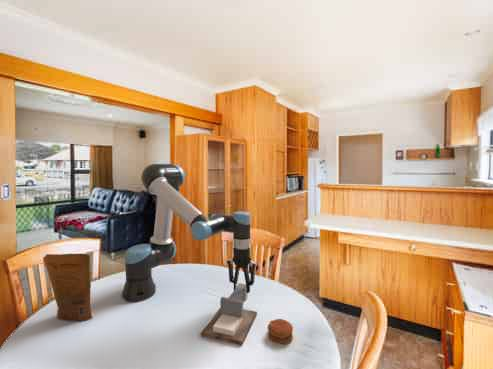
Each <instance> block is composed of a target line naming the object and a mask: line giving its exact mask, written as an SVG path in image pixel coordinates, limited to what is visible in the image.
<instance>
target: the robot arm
mask: <svg viewBox="0 0 493 369" xmlns="http://www.w3.org/2000/svg"><path fill="white" fill-rule="evenodd" d="M140 178H141V183H142V185H143V188H145V189H146V191H147V192H148V193H150V195H155V196H156V197H157V201H156V210H155V218H154V220H155V221H154V230H153V236H151V237H150V239H149V244H148V243H140V244H135V245H133V246H130V247H129V248H128V249H127V250H126V251H125V254H124V263H125V265H124V266H125V282H124V286H123V290H122V292H121V294H122V300H124V301H126V302H132V303H133V302H140V301H142V302H143V301H144V300H147V299H149V298H151V297H153V296H154V295H155V294H156V291H157V290H156V288H157V287H156V284H155V282H154V279H153V276H152V274H153V273H152V272H153V271H152V269H154V268H157V267H159V266H161V265H163V264H166V263H169V261H171V260H172V259H173V258H175V256H176V254H177V246H176V242H175V241H174V239H173V237H172V236H171V234H172V226H173V216H174V214H175V215H176V216H178V218H180V220H182V221H183V222H184V223H185V224H186V225H187V226H188V228H189V229H190V234H191V236H192V238H193V239H194V240H196V241H199V242H200V241H204V240H207V239H209V238H211V237H214V236H216V235H219V234H221V233H230V234H232V235H233V236H232V237H233V238H232V240H233V242H232V244H233V248H232V255H233V257H232V258H228V259H227V261H226V264H227V266H228V280H229V283H232V284H233V291H234V290H235V289H236V288H237V286H238V285H239V284H240V282H238V281H239V275H240V269H242V270H243V275H244V279H245V280H244V281H245V284H246V285H245V301H244V302H247V300H248V299H249V293H250V292H251V286H253V285H254V283H255V277H256V275H255V274H256V266H257V262H256V261H252V259H251V258H252V257H251V223H252V222H251V214H250V213H249V212H248V211H241V210H239V211H234V212H233V214H232V215H229V214H222V213H214V214H211V215H210V217H209V218H208V217H207V216H206V215H204V213H203V212H202V211H200V210H199V209H198V208H196V206H194V205H193V204H192V203H191V202H190V201H189V200H188V199H187V198H185V197H184V196H183V194H181V192H180V191H179V190H180V187H181V186H182V185H183V184H184V182H185V180H186V174H185V172H184V170H183V167H181V166H180V165H178V164H174V163H173V164H172V163H153V164H149V165H147V166H146V167H145V168H143V170H142V172H141V176H140ZM234 265H235V268H234ZM249 265H250V267H251V268H250V274H249ZM234 271H235V272H234Z"/></svg>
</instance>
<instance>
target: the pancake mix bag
mask: <svg viewBox="0 0 493 369" xmlns="http://www.w3.org/2000/svg"><path fill="white" fill-rule="evenodd" d="M42 259H43V264H44V266H45V268H46V273H47V275H48V279H49V281H50V285H51V289H52V292H53V296H54V300H55V304H56V307H57V313H56V316H57V318H56V319H57V320H60V321H70V322H79V323H81V322H86V321H89V320H91V319H93V316H92V308H91V299H92V298H91V288H92V286H91V285H92V283H91V255H90V254H88V253H61V254H60V253H59V254H58V253H57V254H54V253H53V254H51V253H50V254H49V253H47V254H45V255H44V256H43V258H42Z"/></svg>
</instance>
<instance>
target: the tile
mask: <svg viewBox="0 0 493 369" xmlns="http://www.w3.org/2000/svg"><path fill="white" fill-rule="evenodd" d="M241 321H242V317H237V316H231V315H226V314H222V315H221V316H220V317H219V319H218V320H217V322H216V323H215V324H214V326H213V332H218V333H222V334H227V335H231V336H234V334H235V332H236V330H237V328H238V327H239V325H240V323H241Z"/></svg>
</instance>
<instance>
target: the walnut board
mask: <svg viewBox="0 0 493 369" xmlns="http://www.w3.org/2000/svg"><path fill="white" fill-rule="evenodd" d="M221 315H222V314H221V313H220V308H219V309H218V310H217V311H216V313H215V314H214V315H213V316H212V317H211V319H210V320H209V322H208V323H207V324H206V326H205V327H204V328H203V330H202V331H201V333H200V335H201V337H203V338H204V337H205V338H208V339H211V340H212V339H213V340H218V341H222V342H226V343H229V344H233V345H239V346H243V345H244V342H245V341H246V338H247V336H248V335H249V332H250V330H251V329H252V326H253V324H254V322H255V320H256V317H257V315H258V311H254V310H250V309H245V308H243V316H242V321H241V323H240V325H239V327H238V328H237V330H236V332H235V334H234V336H231V335H227V334H222V333H218V332H213V326H214V324H215V323H216V322H217V320H218V319H219V317H220V316H221Z"/></svg>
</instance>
